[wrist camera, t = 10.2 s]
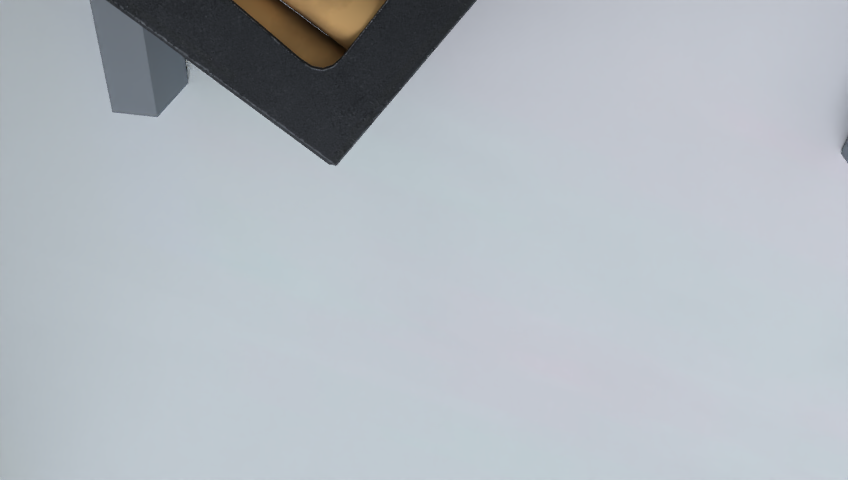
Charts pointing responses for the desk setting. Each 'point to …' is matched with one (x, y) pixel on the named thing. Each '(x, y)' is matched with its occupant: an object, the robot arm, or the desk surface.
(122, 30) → the grey frame
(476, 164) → the desk surface
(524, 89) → the desk surface
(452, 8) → the ammunition clip
